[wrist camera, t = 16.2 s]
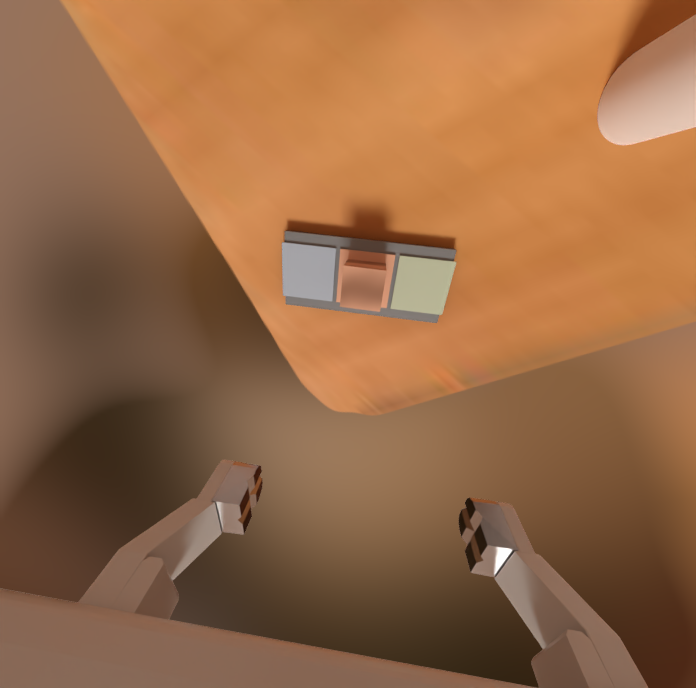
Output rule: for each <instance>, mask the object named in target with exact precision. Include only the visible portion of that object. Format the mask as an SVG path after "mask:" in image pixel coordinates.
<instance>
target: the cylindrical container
mask: <svg viewBox="0 0 696 688" xmlns="http://www.w3.org/2000/svg"><path fill="white" fill-rule="evenodd" d="M597 119H598V126H599V129H600V132H601V133H602V134H603V136H604V137H605V138H606V139H607V140H608V141H610V142H612V143H614V144H617V145H630V144H635V143H639V142H643V141H646V140H650V139H654V138H657V137H661V136H665V135H668V134H672V133H676V132H679V131H683V130H687V129H690V128H694V127H696V14H695V15H693V16H692V17H690V18H689V19H687V20H686V21H684V22H682V23H681V24H679V25H678V26H676V27H674V28H673V29H671V30H670V31H668V32H666V33H665V34H663V35H662V36H660V37H658V38H657V39H655V40H654V41H652V42H650V43H649V44H647V45H646V46H644V47H643V48H641V49H639V50H638V51H636V52H635V53H634V54H632V55H631V56H630V57H628V58H627V59H626V60H625V61H624V62H623V63H622V64H621V65H620V66H619V67H618V68H617V70H616V71H615V72H614V74H613V75H612V76H611V78H610V79H609V81H608V83H607V85H606V86H605V88H604V91H603V93H602V96H601V98H600V102H599V106H598V114H597Z"/></svg>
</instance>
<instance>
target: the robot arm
mask: <svg viewBox="0 0 696 688" xmlns="http://www.w3.org/2000/svg"><path fill="white" fill-rule="evenodd" d="M261 472H262V470H261V466H259V465H253V464H247V463H242V462H236V461H230V460H222V461H221V462H220V463H219V464H218V466H217V467H216V469H215V471H214V472H213V474H212V475H211V477H210V479H209V480H208V482H207V483H206V485H205V486H204V488H203V490H202V491H201V493H200V494H199V496H198V497H197V499H191V500H190V501H188V502H187V503H185V504H184V505H183V506H181V507H180V508H178V509H177V510H176V511H174V512H172V513H171V514H170V515H168V516H167V517H165V518H164V519H162V520H161V521H159V522H158V523H156V524H155V525H154V526H152V527H151V528H149V529H148V530H146V531H145V532H143V533H142V534H141V535H139V536H138V537H136V538H135V539H133V540H132V541H130V542H129V543H127V544H126V545H125V546H123V547H122V548H120V549H119V550H118V551H117V553H116V554H115V555H114V557H113V558H112V559H111V560H110V562H109V563H108V564H107V566H106V567H105V568H104V570H103V571H102V572H101V574H100V575H99V576H98V578H97V579H96V580H95V581H94V583H93V584H92V585H91V586H90V588H89V589H88V590H87V592H86V593H85V594H84V596H83V597H82V598H81V599H80V601H79V602H78V603H77V602H71V601H66V600H61V599H55V598H49V597H44V596H38V595H33V594H28V593H22V592H17V591H12V590H6V589H0V688H535V687H529V686H524V685H519V684H514V683H508V682H502V681H497V680H492V679H486V678H481V677H475V676H470V675H465V674H459V673H454V672H448V671H443V670H438V669H433V668H427V667H422V666H416V665H411V664H406V663H400V662H395V661H389V660H384V659H378V658H373V657H368V656H362V655H357V654H352V653H346V652H341V651H335V650H330V649H325V648H319V647H314V646H308V645H303V644H298V643H292V642H287V641H282V640H276V639H270V638H265V637H259V636H255V635H249V634H244V633H238V632H233V631H227V630H222V629H216V628H211V627H206V626H201V625H195V624H190V623H185V622H179V621H173V620H169V618H170V616H171V614H172V612H173V610H174V608H175V606H176V604H177V602H178V600H179V596H178V592H177V590H176V588H175V586H174V584H173V580H174V579H175V578H176V577H177V576H178V575H179V574H180V573H181V572H182V571H183V570H184V569H185V568H186V567H187V566H188V565H189V564H190V563H191V562H192V561H193V560H194V559H195V558H197V557H198V556H199V555H200V554H201V553H202V552H203V551H204V550H205V549H206V548H207V547H208V546H209V545H210V544H211V543H212V542H213V541H214V540H215V539H216V538H217V537H218V536H219V535H220V534H221V532H229V533H237V534H243V535H244V534H245V531H246V529H247V526H248V524H249V522H250V519H251V517H252V513H251V508H253V507H254V506H255V505H256V504H257V502H258V500H259V497H260V494H261V490H262V483H263V482H262V478H261V477H260V474H261ZM465 505H466V508H464V509H462V510H461V512H460V514H459V530H460V534H461V537H462V539H463V540H464V541H465V542H466V544H467V547H466V549H465V553H466V557H467V561H468V565H469V569H470V572H471V573H475V574H480V575H486V576H491V577H496V578H495V580H496V581H497V583H498V584H499V586H500V587H501V589H502V590H503V592H504V593H505V594H506V596H507V597H508V599H509V600H510V602H511V603H512V605H513V606H514V607H515V609H516V610H517V612H518V613H519V615H520V616H521V618H522V619H523V621H524V622H525V623H526V625H527V626H528V628H529V629H530V631H531V632H532V634H533V635H534V637H535V638H536V639H537V641H538V642H539V644H540V645H541V647H542V648H543V650H542V651H541V652H539V653H538V654H537V655H536V656H535V657H533V660H532V661H531V664H532V667H533V670H534V673H535V676H536V679H537V682H538V685H539V688H648V686H647V685H646V683H645V681H644V679H643V678H642V676H641V674H640V672H639V671H638V669H637V667H636V665H635V664H634V662H633V660H632V658H631V657H630V655H629V653H628V651H627V649H626V648H625V646H624V644H623V643H622V641H621V639H620V637H619V636H618V635H617V634H616V633H615V632H614V631H613V630H612V629H611V628H610V627H609V626H608V625H607V624H606V623H605V622H604V621H603V620H602V619H601V618H600V617H599V616H598V614H597V613H596V612H595V611H594V610H593V609H592V608H591V607H590V606H589V605H588V604H587V603H586V602H585V601H584V600H583V599H582V598H581V597H580V596H579V595H578V594H577V593H576V592H575V591H574V590H573V589H572V588H571V587H570V586H569V585H568V584H567V583H566V582H565V580H563V579H562V577H561V576H560V575H559V574H558V573H557V572H556V571H555V570H554V569H553V568H552V567H551V566H550V565H549V564H548V563H547V562H546V561H545V560H544V559H543V558H542V557H541V556H540V555H538V554H535V553H534V550H533V548H532V546H531V544H530V542H529V540H528V537H527V536H526V533H525V531H524V530H523V527H522V525H521V523H520V520H519V518H518V516H517V514H516V512H515V510H514V508H513V506H512V505H511V504H509V503H502V502H495V501H491V500H484V499H476V498H468V499H467V500H466V502H465Z"/></svg>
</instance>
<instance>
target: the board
mask: <svg viewBox="0 0 696 688" xmlns="http://www.w3.org/2000/svg"><path fill="white" fill-rule="evenodd" d="M455 254H456V250H455V249H451V248H442V247H433V246H424V245H415V244H406V243H397V242H388V241H378V240H369V239H360V238H351V237H342V236H333V235H324V234H315V233H306V232H297V231H285V242H282V270H283V296H286V304H288V305H296V306H304V307H312V308H320V309H328V310H336V311H344V312H352V313H360V314H368V315H376V316H384V317H392V318H400V319H408V320H416V321H424V322H432V323H437V321H438V318H439V315H442V313H443V309H444V306H445V302H446V298H447V295H448V291H449V287H450V284H451V280H452V276H453V273H454V269H455V265H456V262H454V258H455ZM348 259H354V260H362V261H370V262H378V263H386V269H387V272H386V278H385V285H384V291H383V297H382V303H381V309H380V312H377V311H369V310H361V309H353V308H346V307H340V299H341V288H342V277H343V266H344V264H345V263H346V261H347V260H348Z"/></svg>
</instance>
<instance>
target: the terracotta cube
mask: <svg viewBox="0 0 696 688" xmlns="http://www.w3.org/2000/svg"><path fill="white" fill-rule="evenodd" d="M386 272H387V269H386V263H378V262H370V261H362V260H354V259H348V260H347V261H346V263H345V264H344V266H343V277H342V288H341V299H340V307H346V308H353V309H361V310H369V311H377V312H380V309H381V303H382V297H383V291H384V285H385V278H386Z"/></svg>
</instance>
